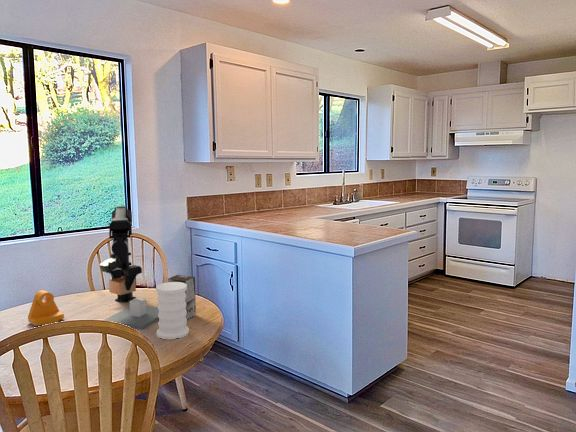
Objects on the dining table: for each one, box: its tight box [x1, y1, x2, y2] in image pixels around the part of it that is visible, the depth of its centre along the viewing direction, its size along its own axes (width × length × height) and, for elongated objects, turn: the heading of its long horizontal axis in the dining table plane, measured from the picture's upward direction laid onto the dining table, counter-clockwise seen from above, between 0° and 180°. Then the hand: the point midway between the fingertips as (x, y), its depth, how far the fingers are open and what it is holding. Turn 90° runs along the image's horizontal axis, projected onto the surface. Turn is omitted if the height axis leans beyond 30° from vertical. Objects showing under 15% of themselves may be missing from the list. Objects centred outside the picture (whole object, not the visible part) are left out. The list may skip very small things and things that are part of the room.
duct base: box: [104, 297, 159, 330], centre depth 179 cm, size 20×18×7 cm
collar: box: [108, 277, 137, 295], centre depth 180 cm, size 7×7×5 cm
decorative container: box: [155, 281, 190, 340], centre depth 162 cm, size 12×12×18 cm
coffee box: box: [167, 274, 197, 320], centre depth 180 cm, size 9×6×16 cm
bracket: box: [27, 289, 65, 327], centre depth 174 cm, size 11×7×12 cm, turn 139°
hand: (122, 288), depth 180 cm, fingers closed on collar, 7 cm apart
